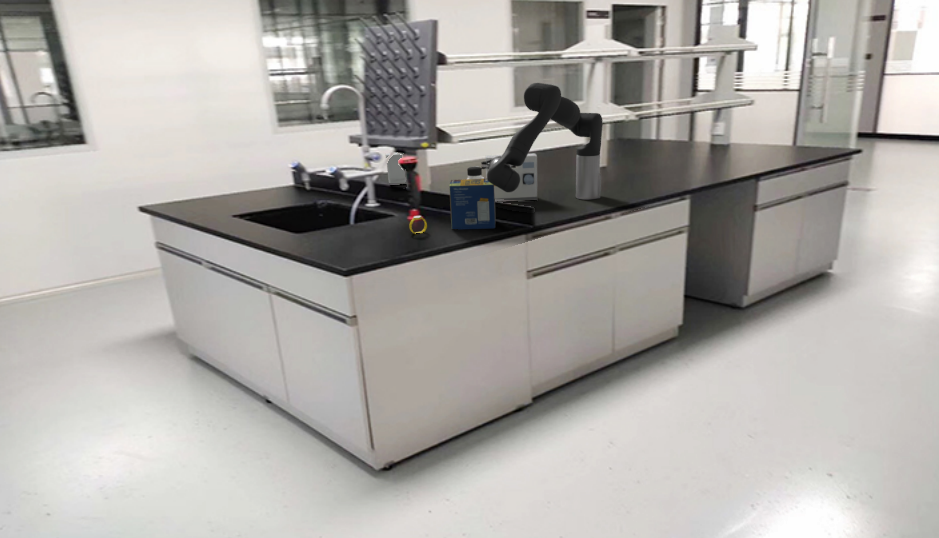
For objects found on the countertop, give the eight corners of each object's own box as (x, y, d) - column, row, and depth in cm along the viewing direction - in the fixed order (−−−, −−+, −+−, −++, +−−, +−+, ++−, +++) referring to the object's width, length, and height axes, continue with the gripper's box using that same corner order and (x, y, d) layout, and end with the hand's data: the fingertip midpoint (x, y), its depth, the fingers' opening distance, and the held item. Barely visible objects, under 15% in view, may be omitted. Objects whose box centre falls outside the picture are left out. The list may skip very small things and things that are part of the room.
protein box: (452, 222, 222) (450, 179, 216) (495, 220, 221) (494, 177, 216) (451, 230, 212) (448, 185, 207) (495, 228, 211) (494, 184, 206)
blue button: (532, 182, 246) (532, 173, 245) (533, 184, 242) (533, 175, 241) (523, 182, 246) (523, 173, 245) (524, 185, 242) (524, 175, 241)
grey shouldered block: (405, 182, 293) (403, 151, 288) (407, 185, 288) (404, 153, 283) (388, 184, 292) (385, 152, 287) (389, 186, 286) (386, 154, 281)
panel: (535, 197, 253) (535, 153, 247) (537, 200, 247) (537, 155, 241) (487, 199, 253) (485, 155, 247) (487, 203, 247) (486, 158, 241)
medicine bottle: (482, 197, 258) (481, 168, 254) (465, 197, 259) (464, 168, 255) (485, 193, 264) (484, 165, 260) (468, 193, 266) (467, 165, 262)
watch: (412, 236, 207) (410, 219, 205) (409, 234, 210) (407, 217, 208) (428, 232, 210) (426, 215, 208) (425, 230, 212) (423, 214, 210)
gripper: (519, 157, 210) (514, 149, 227) (480, 158, 210) (478, 151, 227) (519, 178, 213) (515, 170, 229) (481, 180, 213) (479, 171, 229)
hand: (497, 160), depth 228 cm, fingers closed
